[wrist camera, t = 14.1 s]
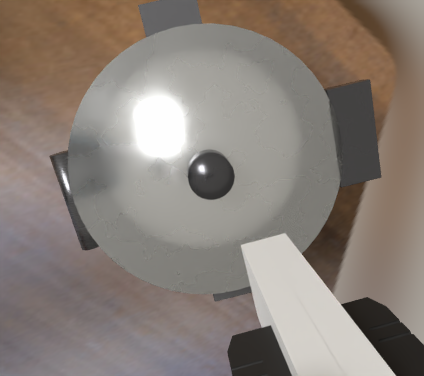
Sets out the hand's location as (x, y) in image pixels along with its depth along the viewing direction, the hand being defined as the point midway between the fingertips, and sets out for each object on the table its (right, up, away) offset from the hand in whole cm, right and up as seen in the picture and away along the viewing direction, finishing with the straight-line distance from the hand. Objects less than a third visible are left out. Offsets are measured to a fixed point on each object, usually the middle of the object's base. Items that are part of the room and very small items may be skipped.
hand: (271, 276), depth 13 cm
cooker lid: (-1, +5, +16) cm, 16 cm away
